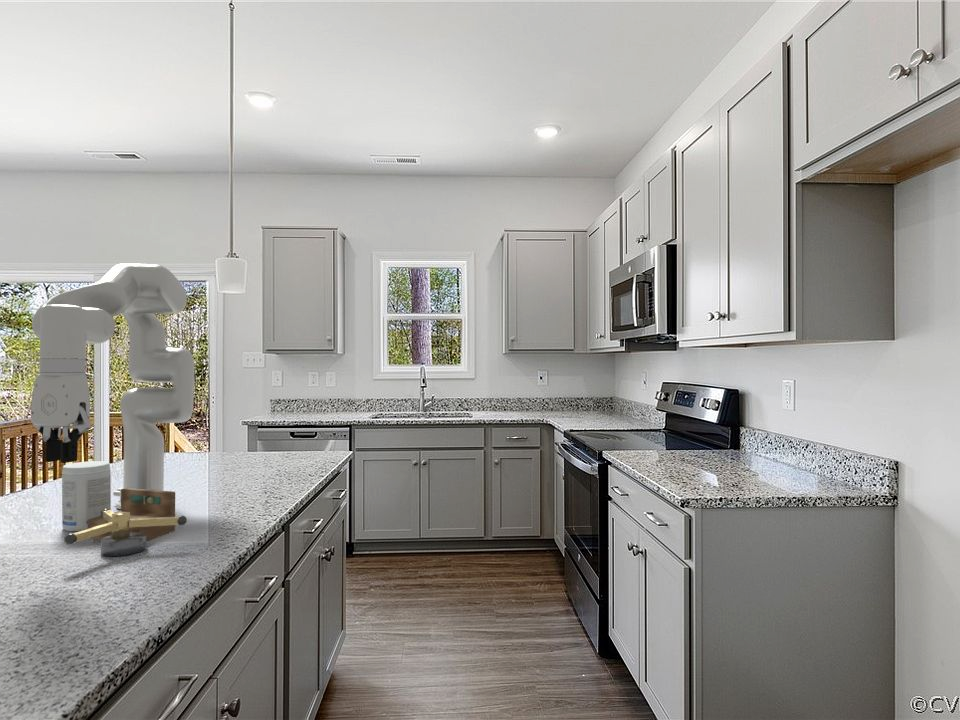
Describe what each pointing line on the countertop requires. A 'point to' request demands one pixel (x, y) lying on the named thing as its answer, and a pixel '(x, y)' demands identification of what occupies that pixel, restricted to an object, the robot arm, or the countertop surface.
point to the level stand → (143, 511)
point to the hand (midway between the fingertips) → (61, 460)
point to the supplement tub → (84, 493)
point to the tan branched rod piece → (122, 532)
